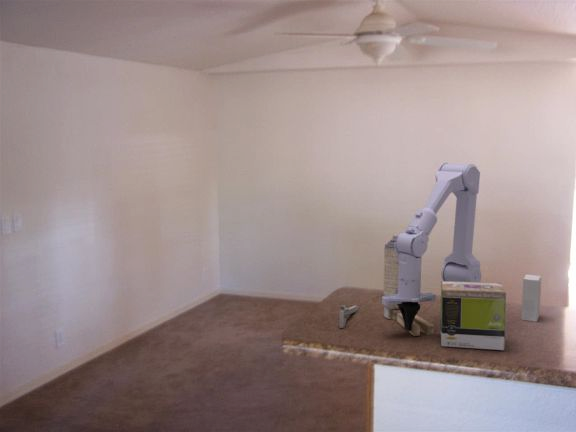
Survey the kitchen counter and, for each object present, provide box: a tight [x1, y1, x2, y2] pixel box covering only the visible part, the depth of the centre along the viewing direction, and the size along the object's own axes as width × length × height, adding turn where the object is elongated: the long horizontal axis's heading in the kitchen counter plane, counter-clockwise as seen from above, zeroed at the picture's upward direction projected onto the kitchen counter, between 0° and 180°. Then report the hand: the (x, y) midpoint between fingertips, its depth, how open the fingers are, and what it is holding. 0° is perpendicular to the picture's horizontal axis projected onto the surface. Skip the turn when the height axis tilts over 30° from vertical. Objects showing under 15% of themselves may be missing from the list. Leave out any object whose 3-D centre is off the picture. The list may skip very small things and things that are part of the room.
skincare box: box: [520, 274, 542, 323], centre depth 170 cm, size 6×4×12 cm
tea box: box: [439, 280, 507, 351], centre depth 150 cm, size 15×10×15 cm
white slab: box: [383, 304, 399, 320], centre depth 172 cm, size 7×3×5 cm, turn 107°
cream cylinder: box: [382, 234, 399, 296], centre depth 191 cm, size 7×7×20 cm
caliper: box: [338, 305, 359, 329], centre depth 171 cm, size 20×1×6 cm, turn 162°
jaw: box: [395, 311, 421, 337], centre depth 162 cm, size 2×14×2 cm, turn 10°
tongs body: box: [390, 308, 435, 336], centre depth 165 cm, size 4×18×2 cm, turn 17°
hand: (407, 329), depth 158 cm, fingers closed
